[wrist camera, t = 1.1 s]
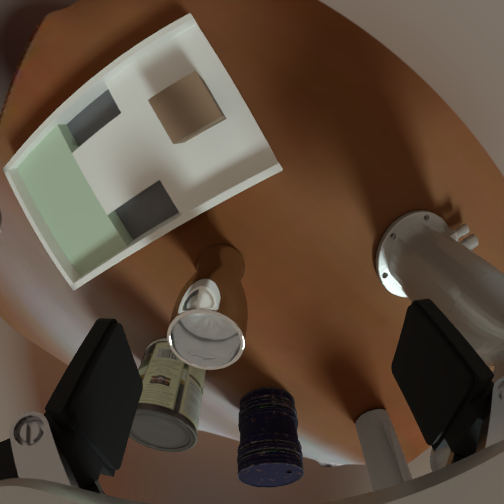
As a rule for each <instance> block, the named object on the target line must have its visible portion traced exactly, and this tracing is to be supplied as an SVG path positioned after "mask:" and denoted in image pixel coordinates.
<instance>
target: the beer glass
mask: <svg viewBox="0 0 504 504" xmlns="http://www.w3.org/2000/svg"><path fill="white" fill-rule="evenodd" d="M244 272H245V263H244V260H243V257H242V256H241V254H240V253H239V252H238V251H237V250H236V249H235V248H233V247H231V246H229V245H225V244H214V245H211V246H209V247H207V248H205V249H204V250H203V251H202V252H201V253H200V255H199V257H198V259H197V263H196V272H195V273H194V275H193V276H192V277H191V278H190V279H189V280H188V282H187V283H186V284H185V286H184V287H183V288H182V290H181V292H180V294H179V296H178V298H177V300H176V303H175V306H174V309H173V312H172V316H171V320H170V325H169V327H168V330H167V341H168V344H169V347H170V349H171V350H172V352H173V353H174V354H175V355H176V356H177V357H178V358H179V359H180V360H181V361H183V362H184V363H186V364H188V365H190V366H192V367H195V368H199V369H205V370H216V369H222V368H225V367H228V366H230V365H231V364H233V363H235V362H236V361H237V360H238V359H239V358H240V356H241V355H242V353H243V351H244V347H245V337H246V331H247V321H248V307H247V300H246V296H245V292H244V289H243V286H242V283H241V280H242V278H243V275H244Z"/></svg>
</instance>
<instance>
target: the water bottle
mask: <svg viewBox="0 0 504 504" xmlns="http://www.w3.org/2000/svg"><path fill="white" fill-rule="evenodd" d="M356 430H357V433H358V437H359V440H360V444H361V447H362V451H363V454H364V458H365V462H366V465H367V469H368V473H369V476H370V480H371V484H372V487H373V491H377V490H381V489H384V488H388V487H391V486H394V485H397V484H401V483H404V482H407V481H409V480H412V477H411V474H410V471H409V468H408V465H407V462H406V460H405V457H404V454H403V451H402V449H401V446H400V443H399V441H398V438H397V435H396V433H395V430H394V428H393V425H392V422H391V420H390V417H389V415H388V413H387V412H386V411H385V410H384V409H374V410H370V411H367V412H366V413H364V414H362V415H361V416H360V417H359V418H358V419H357V421H356Z"/></svg>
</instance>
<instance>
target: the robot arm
mask: <svg viewBox="0 0 504 504" xmlns="http://www.w3.org/2000/svg"><path fill="white" fill-rule="evenodd" d="M467 233H469V227H468V226H467V224H463V225H461V226H460V227H458V228H457V229H456V230H453V229H452V230H451V229H450V228H449V227H448V225H447V223H446V222H445V221H444V220H443V219H442V218H441V217H439V216H438V215H436V214H434V213H432V212H430V211H425V210H417V211H412V212H409V213H406V214H405V215H403V216H401V217H399V218H398V219H397V220H396V221H394V222H393V223H392V224H391V225H390V227H389V228H388V229H387V230H386V232H385V233H384V235H383V236H382V239H381V241H380V243H379V245H378V249H377V253H376V271H377V275H378V277H379V279H380V281H381V283H382V284H383V285H384V287H385V288H386V289H387V290H388V291H389V292H390V293H392V294H394V295H396V296H400V297H408V298H409V299H410V300H411V301H412V304H411V305H410V306H409V307H408V309H407V312H406V316H405V320H404V324H403V328H402V331H401V335H400V339H399V342H398V346H397V349H396V352H395V355H394V359H393V362H392V367H391V368H392V373H393V375H394V377H395V379H396V381H397V383H398V385H399V387H400V389H401V391H402V393H403V395H404V397H405V399H406V401H407V403H408V405H409V407H410V409H411V411H412V413H413V415H414V417H415V420H416V422H417V424H418V426H419V428H420V430H421V432H422V434H423V437H424V439H425V441H426V443H427V444H428V445H431V446H432V451H431V456H430V465H431V470H432V472H431V473H429V474H426V475H424V476H421V477H418V478H415V479H412V480H409V481H407V482H404V483H401V484H397V485H394V486H391V487H388V488H384V489H381V490H377V491H373V492H370V493H365V494H361V495H357V496H353V497H348V498H344V499H339V500H333V501H328V502H322V503H316V504H504V274H503V273H502V272H501V271H499V270H498V269H497V268H495V267H494V266H493V265H491V264H490V263H489V262H487V261H486V260H484V259H483V258H482V257H480V256H479V255H477V254H476V253H474V252H473V251H471V250H472V249H474V248H475V247H477V246H478V239H477V237H476V236H475V235H474V234H471V235H469V236H468V237H466V238H465V239H463V240H462V241H461V242H458V238H460V237H462V236H464V235H466V234H467ZM492 366H494V371H493V372H492V371H491V370H490V369H489V367H492ZM142 390H143V382H142V379H141V376H140V374H139V371H138V369H137V366H136V363H135V361H134V358H133V355H132V353H131V350H130V347H129V344H128V341H127V338H126V336H125V333H124V330H123V327H122V325H121V324H120V323H117V321H116V320H115V319H104V318H100V319H98V320H97V321H96V322H95V324H94V325H93V327H92V328H91V330H90V332H89V333H88V335H87V336H86V338H85V340H84V341H83V343H82V344H81V346H80V348H79V349H78V351H77V353H76V354H75V356H74V357H73V359H72V361H71V363H70V364H69V366H68V368H67V369H66V371H65V373H64V374H63V376H62V378H61V380H60V382H59V383H58V385H57V387H56V389H55V390H54V392H53V394H52V396H51V398H50V400H49V401H48V403H47V405H46V407H45V410H46V412H45V414H44V416H43V415H42V414H41V413H38V412H31V411H30V412H26V413H24V414H22V415H20V416H19V417H17V418H16V419H15V420H14V422H13V424H12V425H11V429H10V438H9V439H7V440H5V441H2V442H0V504H151V503H143V502H139V501H133V500H127V499H122V498H117V497H112V496H108V495H105V493H104V491H103V489H102V488H101V486H100V484H99V482H98V478H99V475H100V474H103V475H108V476H112V477H114V473H115V470H118V469H119V468H120V466H121V463H122V459H123V456H124V452H125V448H126V445H127V441H128V438H129V434H130V431H131V427H132V424H133V420H134V417H135V414H136V410H137V407H138V404H139V400H140V397H141V394H142Z"/></svg>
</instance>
